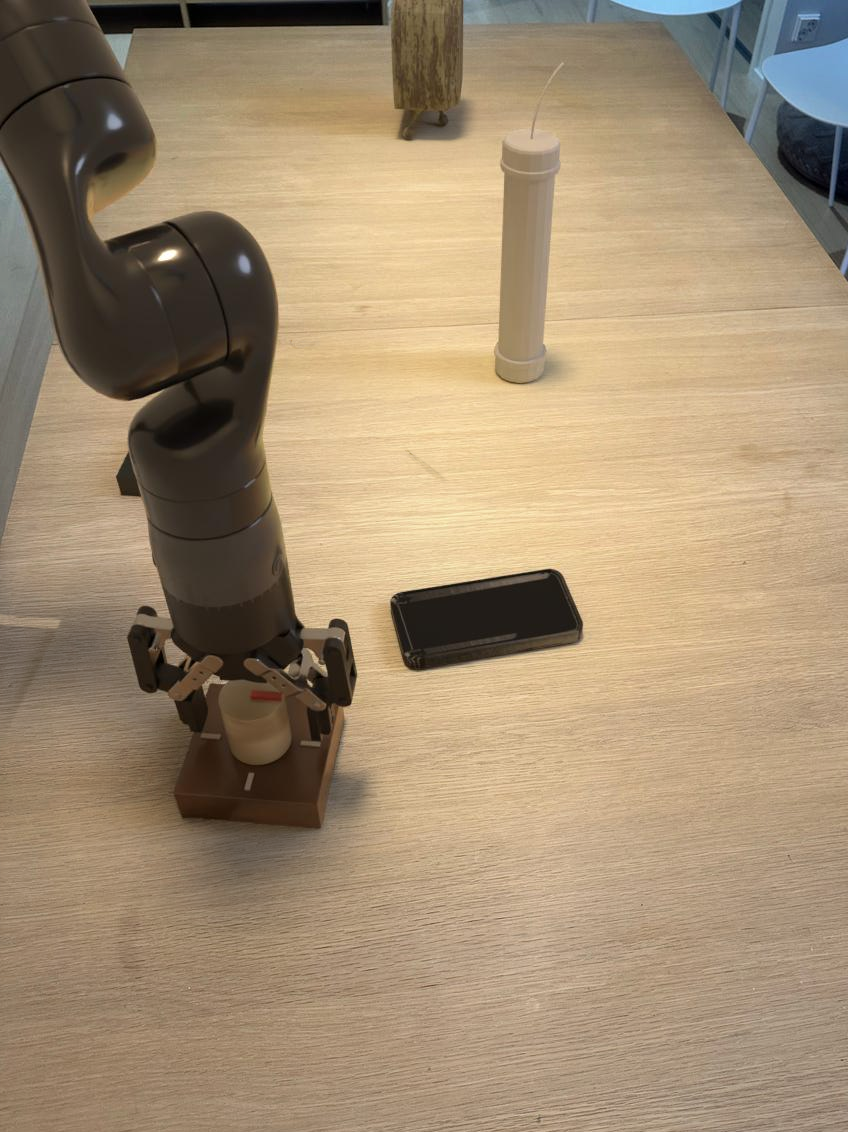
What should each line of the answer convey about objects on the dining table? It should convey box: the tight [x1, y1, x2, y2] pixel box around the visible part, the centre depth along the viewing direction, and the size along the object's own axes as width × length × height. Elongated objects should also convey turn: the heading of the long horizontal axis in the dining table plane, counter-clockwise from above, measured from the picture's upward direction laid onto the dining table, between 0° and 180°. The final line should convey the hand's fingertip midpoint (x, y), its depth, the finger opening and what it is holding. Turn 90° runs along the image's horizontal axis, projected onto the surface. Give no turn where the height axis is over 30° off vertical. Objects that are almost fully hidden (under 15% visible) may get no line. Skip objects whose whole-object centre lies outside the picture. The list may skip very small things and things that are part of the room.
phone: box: [389, 568, 584, 670], centre depth 87 cm, size 8×1×15 cm
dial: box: [218, 680, 292, 765], centre depth 74 cm, size 4×4×5 cm
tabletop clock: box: [390, 0, 464, 140], centre depth 148 cm, size 14×9×25 cm, turn 178°
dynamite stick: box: [493, 61, 565, 384], centre depth 103 cm, size 6×6×30 cm
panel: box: [172, 682, 345, 829], centre depth 77 cm, size 10×10×3 cm
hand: (259, 727), depth 74 cm, fingers open, 8 cm apart
